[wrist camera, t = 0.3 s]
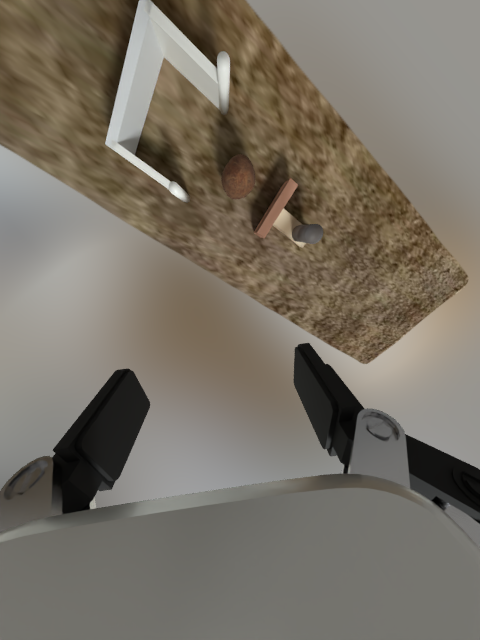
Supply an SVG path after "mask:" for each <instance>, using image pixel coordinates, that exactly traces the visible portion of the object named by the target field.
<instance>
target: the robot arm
mask: <svg viewBox="0 0 480 640" xmlns="http://www.w3.org/2000/svg"><path fill="white" fill-rule="evenodd" d="M294 360H295V361H294V385H295V388H296V390H297V392H298V395H299V397H300V399H301V401H302V404H303V406H304V408H305V410H306V412H307V415H308V417H309V419H310V421H311V424H312V426H313V428H314V430H315V432H316V435H317V437H318V439H319V441H320V444H321V445H322V447H323V449H327V451H328V453H329V455H330V456H336V455H337V456H338V458H339V460H340V462H341V463H343V469H342V474H330V475H319V476H311V477H303V478H295V479H287V480H280V481H273V482H267V483H259V484H252V485H245V486H239V487H232V488H226V489H219V490H212V491H205V492H199V493H192V494H185V495H179V496H172V497H166V498H159V499H153V500H147V501H140V502H134V503H127V504H121V505H115V506H109V507H102V508H96V502H95V495H96V493H97V491H98V490H99V491H103V490H111V489H112V487H113V485H114V483H115V481H116V480H117V479H118V478H119V477H120V475H121V472H122V470H123V468H124V465H125V463H126V461H127V459H128V456H129V454H130V452H131V449H132V447H133V445H134V442H135V440H136V438H137V435H138V433H139V431H140V429H141V426H142V424H143V422H144V419H145V417H146V415H147V412H148V410H149V408H150V402H149V400H148V398H147V396H146V394H145V392H144V390H143V389H142V387H141V385H140V383H139V381H138V379H137V378H136V376H135V374H134V372H133V371H131V370H130V369H122V370H117V371H115V372H114V373H113V375H112V376H111V377H110V378H109V380H108V381H107V382H106V384H105V385H104V386H103V387H102V388H101V390H100V391H99V392H98V394H97V395H96V396H95V398H94V399H93V400H92V401H91V402H90V404H89V405H88V406H87V407H86V409H85V410H84V411H83V412H82V414H81V415H80V416H79V417H78V419H77V420H76V421H75V422H74V424H73V425H72V426H71V428H70V429H69V430H68V431H67V433H66V434H65V435H64V436H63V438H62V439H61V440H60V441H59V443H58V444H57V445H56V447H55V448H54V449H53V451H54V452H55V453H56V454H55V455H54V456H53V457H50V456H43V457H40V458H37V459H35V460H34V461H31V462H30V463H28V464H27V465H25V466H24V467H22V468H21V469H20V470H19V471H18V472H16V473H15V474H14V475H13V476H12V477H11V478H10V479H9V480H8V481H7V482H6V484H5V485H4V486H3V488H2V489H1V491H0V640H480V470H479V469H478V468H476V467H474V466H472V465H470V464H467V463H466V462H463V461H461V460H459V459H457V458H455V457H453V456H451V455H449V454H446V453H444V452H442V451H440V450H438V449H436V448H434V447H431V446H429V445H427V444H425V443H423V442H421V441H418V440H416V439H414V438H412V437H410V436H408V435H406V434H405V433H404V430H403V429H402V427H401V426H400V424H399V423H398V422H397V421H396V420H395V419H394V418H392V417H391V416H389V415H388V414H386V413H384V412H382V411H379V410H376V409H364V408H363V406H362V405H361V404H360V403H359V402H358V400H357V399H356V398H355V396H354V395H353V394H352V392H351V391H350V390H349V389H348V387H347V386H346V385H345V384H344V382H343V381H342V380H341V378H340V377H339V376H338V375H337V374H336V372H335V371H334V370H333V368H332V367H331V366H330V365H328V364H325V363H324V362H323V361H322V360H321V358H320V357H319V356H318V354H317V353H316V352H315V350H314V349H313V348H312V346H311V345H310V344H309V343H305V344H299V345H298V347H296V348H295V359H294Z"/></svg>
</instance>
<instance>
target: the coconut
mask: <svg viewBox="0 0 480 640" xmlns="http://www.w3.org/2000/svg"><path fill="white" fill-rule="evenodd" d="M254 184H255V173H254V169H253V165H252V163H251V161H250V160H249V158H248V157H246V156H245V155H242V154H239V155H236V156H234V157H232V158H231V159H230V161H229V162H228V163H227V164H226V166H225V168H224V170H223V173H222V185H223V188H224V191H225V192H226V194H227V195H228V196H229V197H230V198H232V199H240V198H243V197H245V196H247V195H248V194H249V193H250V192H251V190H252V189H253V187H254Z"/></svg>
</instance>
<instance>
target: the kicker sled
mask: <svg viewBox="0 0 480 640" xmlns="http://www.w3.org/2000/svg"><path fill="white" fill-rule="evenodd" d="M297 186H298V184H297V183H295V182H294V181H293V180H292V179H291V178H290V179H289V180H287V181H286V182H285V183H284V184H283V185H282V186H281V188H280V190H279V191H278V193H277V195H276V196H275V198H274V200H273V201H272V203H271V205H270V206H269V208H268V210H267V211H266V213H265V215H264V216H263V218H262V219H261V221H260V223H259V224H258V226H257V228H256V229H255V231H254V233H255V234H256V235H258V236H259V237H261V238H265V237H266V235H267V233H268V232H269V230H270V229H271V227H272V226H274V227H275V228H277V229H278V230H279V231H281V232H282V233H283V234H284V235H286V236H287V237H288V238H289V239H291V240H292V241H293V242H294V243H296V244H297V245H298V246H299V247H302V248H303V246H304V245H305V243H310V244H315V243H317V242H319V241H320V239H321V238H322V236H323V229H322V227H321V226H320V225H318V224H310V225H302V224H301V223H300V222H299V221H298V220H297V219H295V218H294V217H293V216H292V215H291V214H290V213H288V212H287V211H286V210H285V209H284V207H285V205H286V203H287V202H288V200H289V199H290V197H291V196H292V194H293V192H294V191H295V189H296V188H297Z"/></svg>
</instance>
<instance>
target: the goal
mask: <svg viewBox="0 0 480 640" xmlns="http://www.w3.org/2000/svg"><path fill="white" fill-rule="evenodd" d="M164 57H165V58H166V59H167V60H168V61H169V62H170V63H171V64H172V65H173V66H174V67H175V68H176V69H177V70H178V71H179V72H180V73H181V74H182V75H184V76H185V77H186V78H187V79H188V80H189V81H190V82H191V83H192V84H193V85H194V86H195V87H196V88H197V89H198V90H199V91H200V92H201V93H203V94H204V95H205V96H206V97H207V98H208V99H209V100H210V101H211V102H212V103H213V104H214V105H215V106H216V107H217V108H218V109H219V110H220V112H221V114H223V115H226V114H227V113H228V110H229V79H230V58H229V56H228V54H227V53H226V52H224V51H222V52H220V53H219V54H218V57H217V68H216V67H215V66H214V65H213V64H212V63H211V62H210V61H209V60H208V59H207V58H206V57H205V56H204V55H203V54H202V53H201V52H200V51H199V50H198V49H197V48H196V47H195V46H194V45H193V44H192V43H191V41H190V40H189V39H188V38H187V37H186V36H185V35H184V34H183V33H182V32H181V31H180V30H179V29H178V28H177V27H176V26H175V25H174V24H173V23H172V22H171V21H170V20H169V19H168V18H167V17H166V16H165V15H164V14H163V13H162V12H161V11H160V10H159V9H158V8H157V7H156V6H155V5H154V3H153V2H152V1H151V0H139V3H138V7H137V11H136V15H135V20H134V24H133V28H132V32H131V37H130V41H129V45H128V49H127V54H126V58H125V62H124V66H123V70H122V75H121V79H120V83H119V87H118V92H117V96H116V100H115V104H114V109H113V113H112V117H111V121H110V125H109V130H108V134H107V138H106V142H105V144H106V145H107V146H109V147H110V148H111V149H113V150H114V151H115V152H117V153H118V154H120V155H121V156H122V157H124V158H125V159H127V160H128V161H129V162H131V163H132V164H134V165H135V166H136V167H138V168H139V169H141V170H142V171H144V172H145V173H146V174H148V175H149V176H151V177H152V178H153V179H155V180H156V181H158V182H159V183H160V184H162V185H163V186H165V187H166V188H167V189H169V190H170V192H171V193H172V194H174V195H175V196H177V197H178V198H179V199H181V200H182V201H184V202H186V203H187V202H189V201H190V196H189V195H188V194H187V193H186V192H185V191H184V190H183V189H182V188H181V187H180V186H179V185H178V184H177V183H176V182H174V181H172V182H170V181H169V180H168V179H166V178H165V177H164V176H162V175H161V174H159V173H158V172H157V171H155V170H154V169H153V168H151V167H150V166H148V165H147V164H146V163H144V162H143V161H142V160H140V159H139V158H137V157H136V156H135V153H136V149H137V146H138V142H139V139H140V136H141V132H142V129H143V126H144V122H145V119H146V115H147V112H148V109H149V105H150V102H151V99H152V95H153V92H154V88H155V85H156V82H157V78H158V75H159V72H160V68H161V65H162V61H163V58H164Z"/></svg>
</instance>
